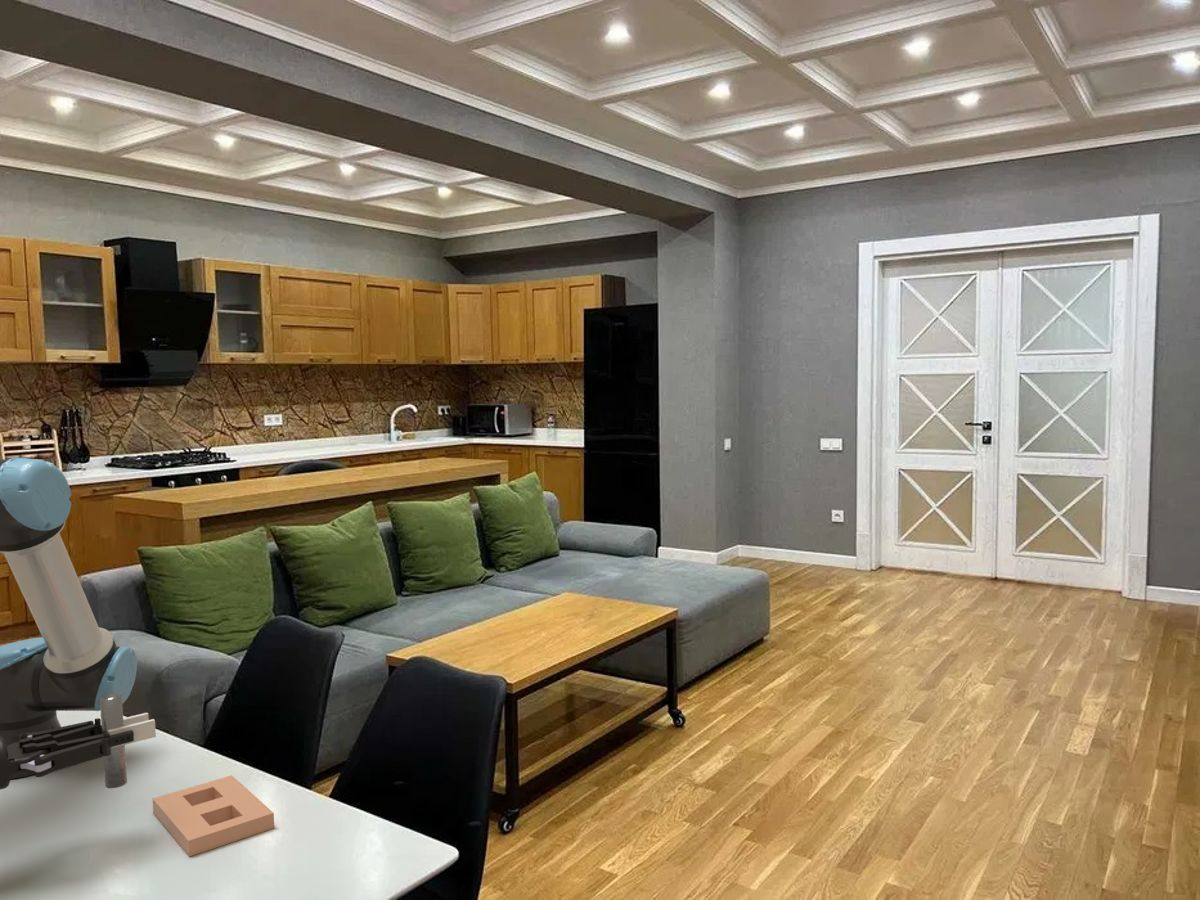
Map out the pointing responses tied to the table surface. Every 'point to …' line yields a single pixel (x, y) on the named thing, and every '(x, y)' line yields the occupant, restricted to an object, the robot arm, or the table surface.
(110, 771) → the steel dowel
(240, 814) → the terracotta block
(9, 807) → the table surface
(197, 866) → the table surface
